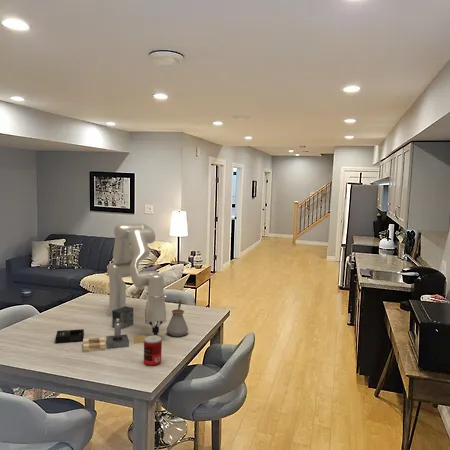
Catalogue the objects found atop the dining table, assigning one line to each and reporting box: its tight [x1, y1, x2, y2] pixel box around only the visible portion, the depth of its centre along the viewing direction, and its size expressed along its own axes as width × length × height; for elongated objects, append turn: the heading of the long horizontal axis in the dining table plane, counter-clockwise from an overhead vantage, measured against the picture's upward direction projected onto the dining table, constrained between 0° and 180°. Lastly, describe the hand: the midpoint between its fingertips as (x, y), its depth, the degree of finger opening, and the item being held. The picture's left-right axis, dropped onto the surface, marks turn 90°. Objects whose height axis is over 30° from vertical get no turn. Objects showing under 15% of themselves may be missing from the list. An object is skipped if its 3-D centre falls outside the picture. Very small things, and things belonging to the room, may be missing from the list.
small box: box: [111, 306, 134, 330], centre depth 227 cm, size 11×6×10 cm, turn 149°
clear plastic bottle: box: [113, 318, 122, 341], centre depth 202 cm, size 3×3×13 cm
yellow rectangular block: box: [133, 334, 147, 344], centre depth 206 cm, size 3×6×3 cm, turn 109°
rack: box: [82, 336, 107, 353], centre depth 198 cm, size 10×10×3 cm
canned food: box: [143, 335, 163, 367], centre depth 183 cm, size 8×8×11 cm
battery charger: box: [54, 328, 85, 345], centre depth 206 cm, size 13×10×4 cm
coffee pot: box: [166, 299, 189, 338], centre depth 223 cm, size 21×12×15 cm, turn 1°
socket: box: [105, 334, 130, 350], centre depth 202 cm, size 10×10×3 cm
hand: (155, 334), depth 208 cm, fingers closed
